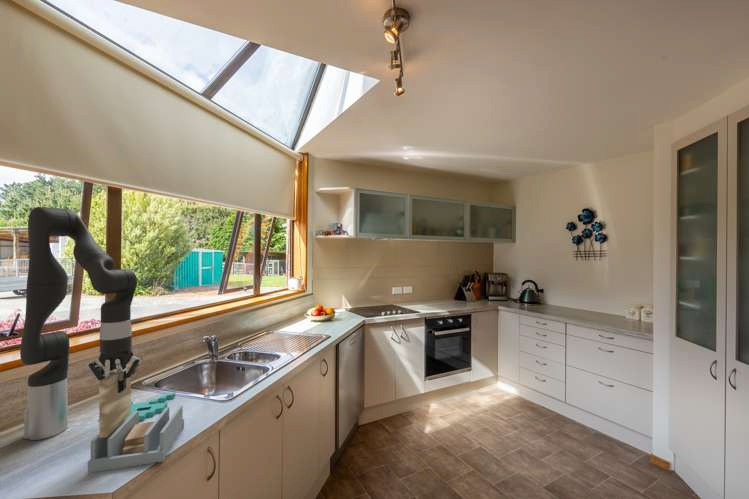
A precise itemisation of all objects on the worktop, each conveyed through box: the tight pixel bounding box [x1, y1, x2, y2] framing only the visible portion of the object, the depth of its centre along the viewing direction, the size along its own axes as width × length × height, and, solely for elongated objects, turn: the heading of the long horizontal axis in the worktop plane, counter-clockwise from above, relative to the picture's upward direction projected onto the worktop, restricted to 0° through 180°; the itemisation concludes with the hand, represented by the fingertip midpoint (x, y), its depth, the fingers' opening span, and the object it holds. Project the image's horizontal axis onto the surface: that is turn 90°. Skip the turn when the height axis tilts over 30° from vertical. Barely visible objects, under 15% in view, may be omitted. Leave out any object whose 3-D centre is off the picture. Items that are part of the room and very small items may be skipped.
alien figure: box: [125, 391, 176, 422], centre depth 119 cm, size 20×2×20 cm
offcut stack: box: [122, 420, 155, 455], centre depth 98 cm, size 6×12×5 cm, turn 21°
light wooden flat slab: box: [98, 364, 132, 438], centre depth 96 cm, size 2×13×16 cm, turn 14°
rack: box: [87, 405, 185, 474], centre depth 97 cm, size 18×18×8 cm
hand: (116, 392), depth 96 cm, fingers closed on light wooden flat slab, 2 cm apart
